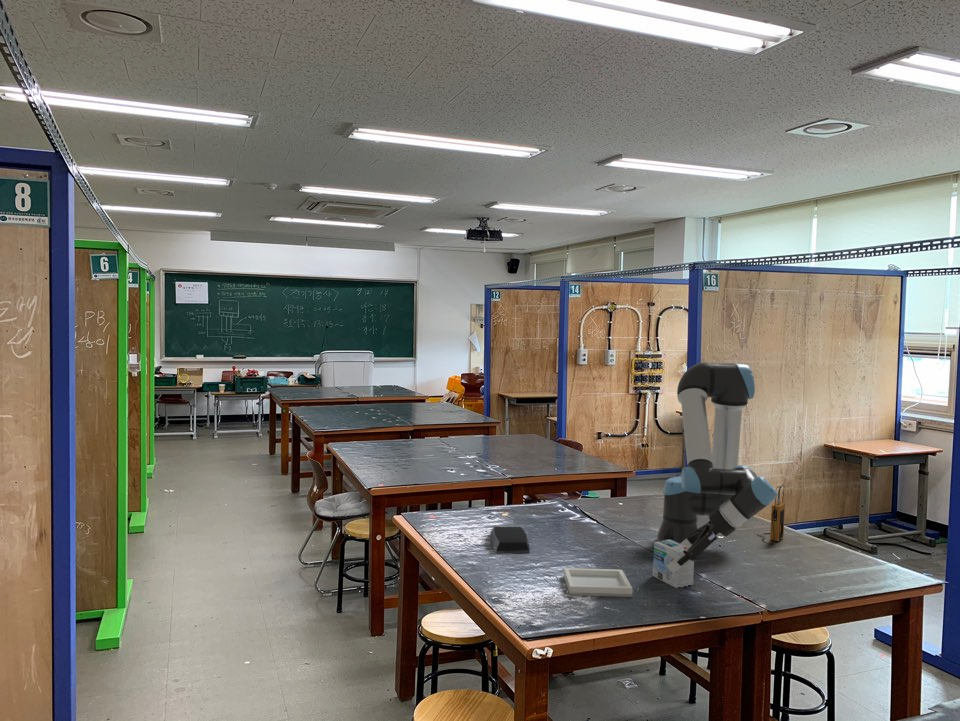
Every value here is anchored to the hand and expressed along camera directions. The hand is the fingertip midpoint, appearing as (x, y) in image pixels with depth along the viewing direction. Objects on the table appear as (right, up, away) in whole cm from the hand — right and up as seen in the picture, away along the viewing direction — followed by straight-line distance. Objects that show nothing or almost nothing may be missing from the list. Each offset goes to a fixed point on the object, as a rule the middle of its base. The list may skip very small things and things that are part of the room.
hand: (671, 562), depth 199 cm
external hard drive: (-47, -4, +31) cm, 57 cm away
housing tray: (-23, -5, -5) cm, 24 cm away
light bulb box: (0, -6, +1) cm, 6 cm away
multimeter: (+48, -5, +46) cm, 67 cm away
